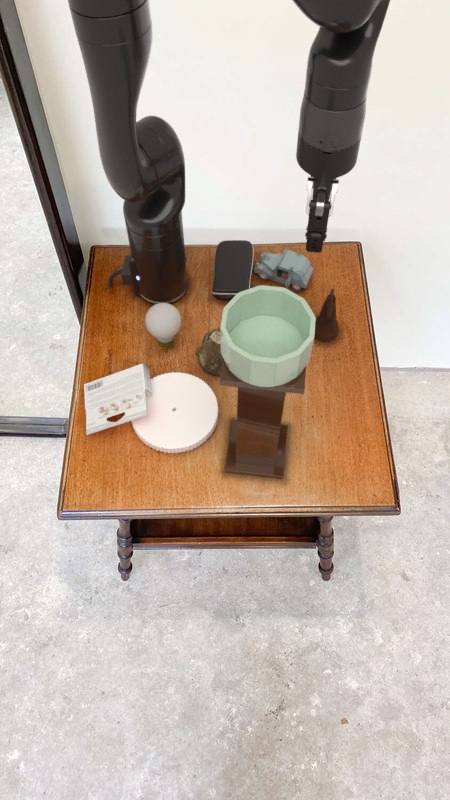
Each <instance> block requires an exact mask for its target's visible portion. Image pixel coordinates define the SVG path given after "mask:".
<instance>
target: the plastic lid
mask: <svg viewBox="0 0 450 800" xmlns="http://www.w3.org/2000/svg"><path fill="white" fill-rule="evenodd" d="M150 382H151V392H152V395H150V396H148V397H146V404H147V416H144V417H141V418H138V419H135V420H132V421H130V423H131V425H132V429H133V430H134V433H135V435H136V436H137V437H138V439H140V441H142V442H143V444H145V445H146V446H148V447H149V448H150V449H151V448H152V450H156V452H157V451H159V452H160V453H164V454H166V453H167V454H170V453H171V454H178V453H179V454H182V453H186V452H190V450H191V451H192V450H194V449H197V447H200V446H201V445H203V444H204V443H206V441H207V440H209V438H210V437H211V436H212V434H213V433H214V431H215V429H216V427H217V424H218V421H219V403H218V399H217V397H216V394H215V392H214V390H213V389H212V387H211V386H210V385H208V383H207V382H205V380H203V379H202V378H200V377H198V376H197V377H196V375H193V374H191V373H190V374H189V373H186V372H182V371H179V372H178V371H175V372H174V371H171V372H164V374H163V373H161V374H160V375H159V374H158V375H156V376H153V378H151V377H150Z"/></svg>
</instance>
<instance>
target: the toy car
mask: <svg viewBox="0 0 450 800" xmlns="http://www.w3.org/2000/svg"><path fill="white" fill-rule="evenodd" d="M314 271H315V269H314V267H313V266H312V265H311V262H310V260H309V258H307V257H306V256H305V255H303V254H302V253H300V252H296V251H293V250H290V249H288V248H284V249H283V251H282V253H271V252H269V251H265V252H262V253H261V254H260V259H259V261H258V262H256V264H255V267H254V268H253V272H254V273H256V274H258V278H260V279H262V280H269V281H272V282H275V283H279V284H282V285H284V288H286V289H288V290H289V287H290V285H291V288H292V289H293V290H295V291H301V290H302V289H307V287H308V285H309V283H310V281H311V278H312V276H313V274H314Z"/></svg>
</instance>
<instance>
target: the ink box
mask: <svg viewBox="0 0 450 800" xmlns="http://www.w3.org/2000/svg"><path fill="white" fill-rule="evenodd" d="M150 379H151V374H150V368H149V367H148V366H147V365H146V364H145V363H139V364H136V365H134V366H130V367H128V368H125V369H122V370H120V371H116V372H113V373H111V374H108V375H106V376H103V377H101V378H97V379H95V380H92V381H89V382H86V383H84V384H83V396H84V411H85V435H86V436H90V435H92V434H95V433H99V432H102V431H104V430H109V429H111V428H114V427H117V426H120V425H123V424H125V423H129V422H131V421H132V420H135V419H138V418H141V417H144V416H147V404H146V397H148V396H150V395H152V392H151V382H150ZM123 413H124V415H122V417H121V418H120V419H118V420H117V421H110V420H108V419H109V418H112V417H114V416H117V415H120V414H123Z"/></svg>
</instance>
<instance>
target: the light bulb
mask: <svg viewBox="0 0 450 800" xmlns="http://www.w3.org/2000/svg"><path fill="white" fill-rule="evenodd" d="M144 318H145V319H144V323H145V327H146V330H147V331H148V333H149V334H150V335H151V336H152V337H154V338H156V339H157V343H158V346H159V347H160V348H161V349H164V350H169V349H171V348H172V347H173V346H174V344H175V336H176V335H177V334H178V332H179V331H180V329H181V327H182V316H181V314H180V312H179V310H178V308H177V307H175V306H174V305H173V304H168V303H158V304H156V305H154V304H153V305H152V306H151V307H150V308H149V309H148V310H147V312H146V314H145V317H144Z"/></svg>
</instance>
